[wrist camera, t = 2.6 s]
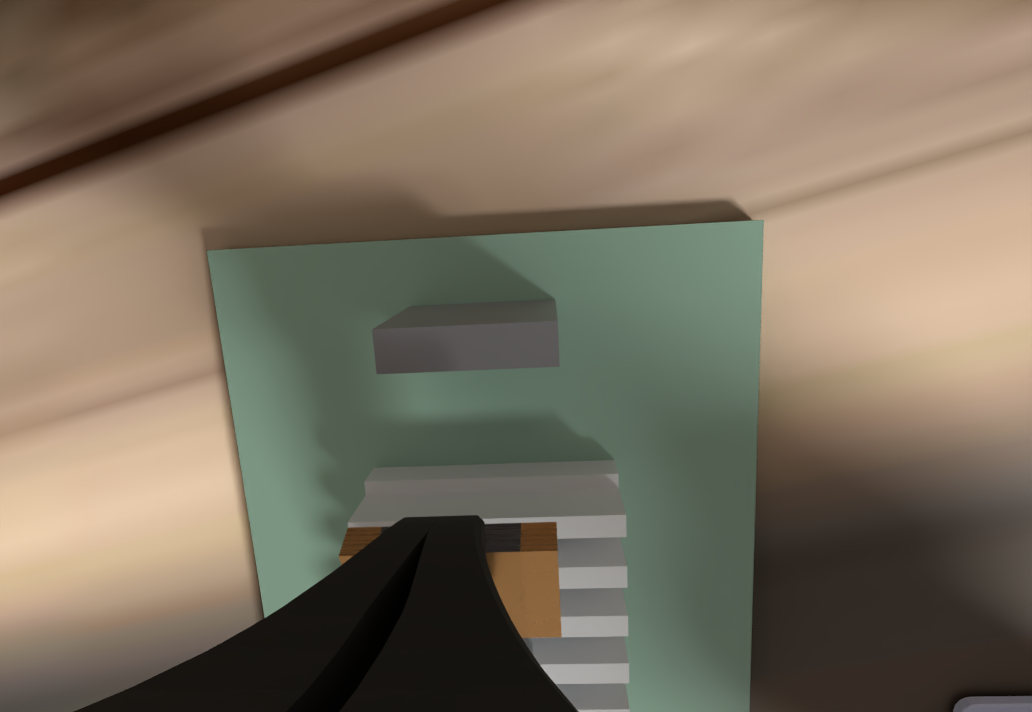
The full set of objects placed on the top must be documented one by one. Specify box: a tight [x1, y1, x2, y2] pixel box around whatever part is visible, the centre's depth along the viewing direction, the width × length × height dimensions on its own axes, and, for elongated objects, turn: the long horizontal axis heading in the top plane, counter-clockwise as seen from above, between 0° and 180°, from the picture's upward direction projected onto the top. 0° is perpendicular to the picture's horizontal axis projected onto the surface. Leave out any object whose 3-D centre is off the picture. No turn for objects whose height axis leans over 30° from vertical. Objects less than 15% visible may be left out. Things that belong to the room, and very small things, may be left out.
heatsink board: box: [207, 220, 764, 712], centre depth 17 cm, size 20×15×5 cm
